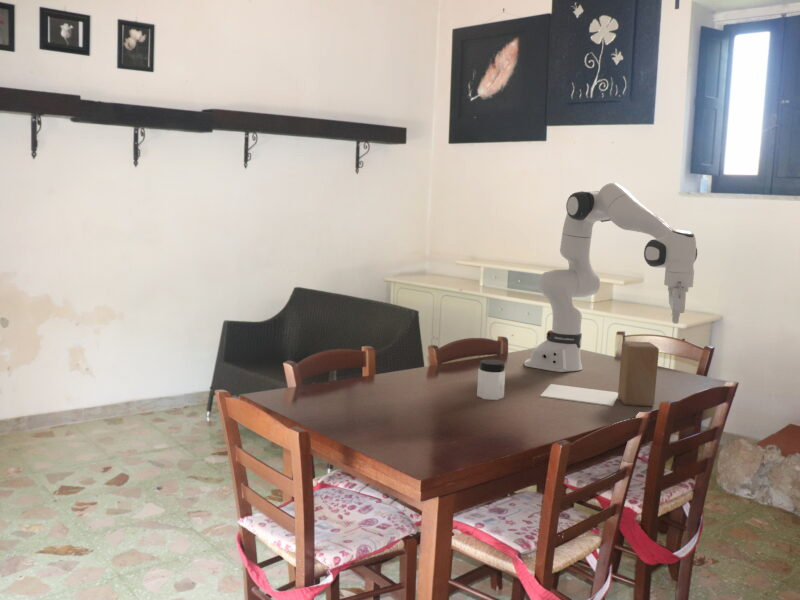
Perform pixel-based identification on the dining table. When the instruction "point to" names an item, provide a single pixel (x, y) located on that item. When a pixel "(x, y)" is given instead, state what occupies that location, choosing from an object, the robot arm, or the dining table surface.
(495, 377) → the jar
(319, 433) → the dining table surface
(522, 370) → the dining table surface
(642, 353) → the block
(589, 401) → the mat
